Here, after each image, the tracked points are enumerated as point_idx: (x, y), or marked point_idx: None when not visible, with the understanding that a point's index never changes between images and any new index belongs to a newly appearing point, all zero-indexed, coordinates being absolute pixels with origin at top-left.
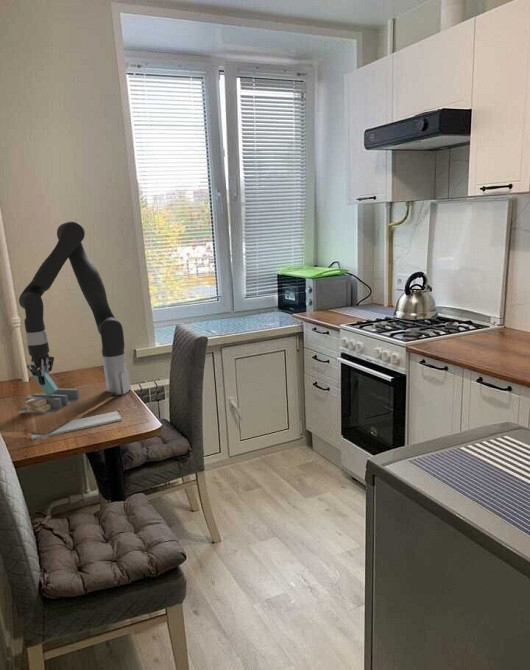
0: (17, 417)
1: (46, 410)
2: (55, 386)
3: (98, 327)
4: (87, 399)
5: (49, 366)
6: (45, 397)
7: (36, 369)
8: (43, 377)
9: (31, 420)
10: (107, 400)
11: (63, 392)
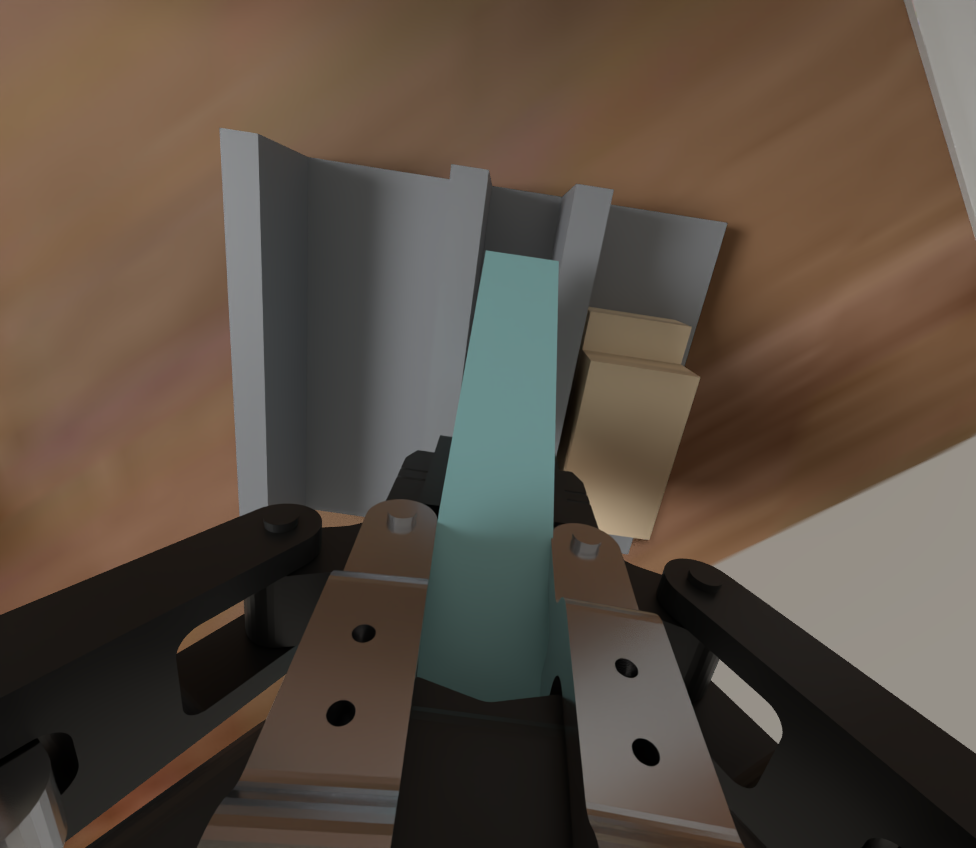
0: (655, 521)
1: (644, 315)
2: (506, 286)
3: None
4: (219, 107)
5: (235, 602)
6: None
7: (873, 738)
8: (561, 506)
9: (743, 378)
10: None
11: (278, 337)
